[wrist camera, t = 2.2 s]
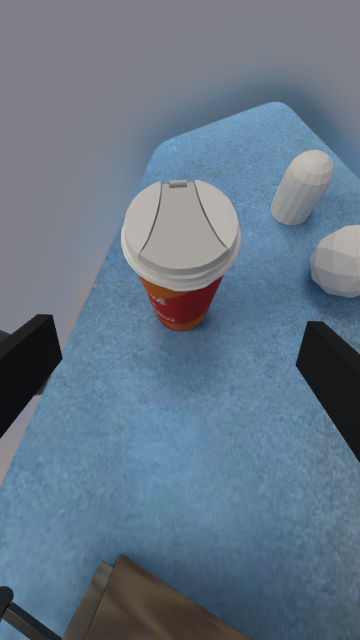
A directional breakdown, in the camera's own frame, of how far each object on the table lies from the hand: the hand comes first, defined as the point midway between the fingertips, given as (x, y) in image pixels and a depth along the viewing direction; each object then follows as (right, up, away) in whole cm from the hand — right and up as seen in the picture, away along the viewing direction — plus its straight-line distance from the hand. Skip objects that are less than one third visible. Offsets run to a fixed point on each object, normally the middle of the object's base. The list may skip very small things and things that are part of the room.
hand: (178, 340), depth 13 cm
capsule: (+15, +16, +22) cm, 31 cm away
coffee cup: (0, +2, +17) cm, 17 cm away
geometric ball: (+19, +6, +18) cm, 27 cm away
